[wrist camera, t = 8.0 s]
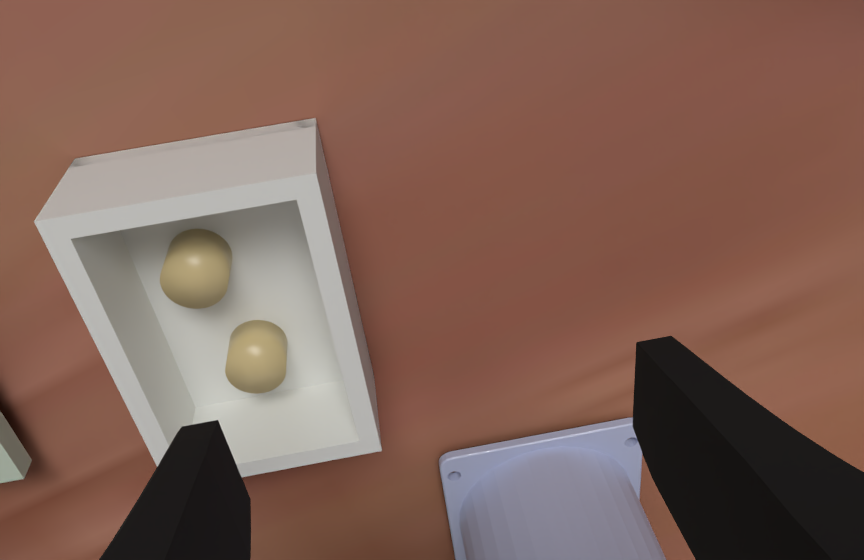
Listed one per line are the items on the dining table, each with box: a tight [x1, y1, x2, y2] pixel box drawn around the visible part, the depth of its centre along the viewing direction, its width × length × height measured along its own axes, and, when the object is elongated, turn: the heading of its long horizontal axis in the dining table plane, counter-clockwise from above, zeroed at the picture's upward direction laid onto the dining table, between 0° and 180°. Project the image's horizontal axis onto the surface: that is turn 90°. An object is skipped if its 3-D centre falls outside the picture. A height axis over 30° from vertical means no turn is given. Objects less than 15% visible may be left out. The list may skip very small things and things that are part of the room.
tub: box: [34, 118, 382, 477], centre depth 21 cm, size 10×7×4 cm
